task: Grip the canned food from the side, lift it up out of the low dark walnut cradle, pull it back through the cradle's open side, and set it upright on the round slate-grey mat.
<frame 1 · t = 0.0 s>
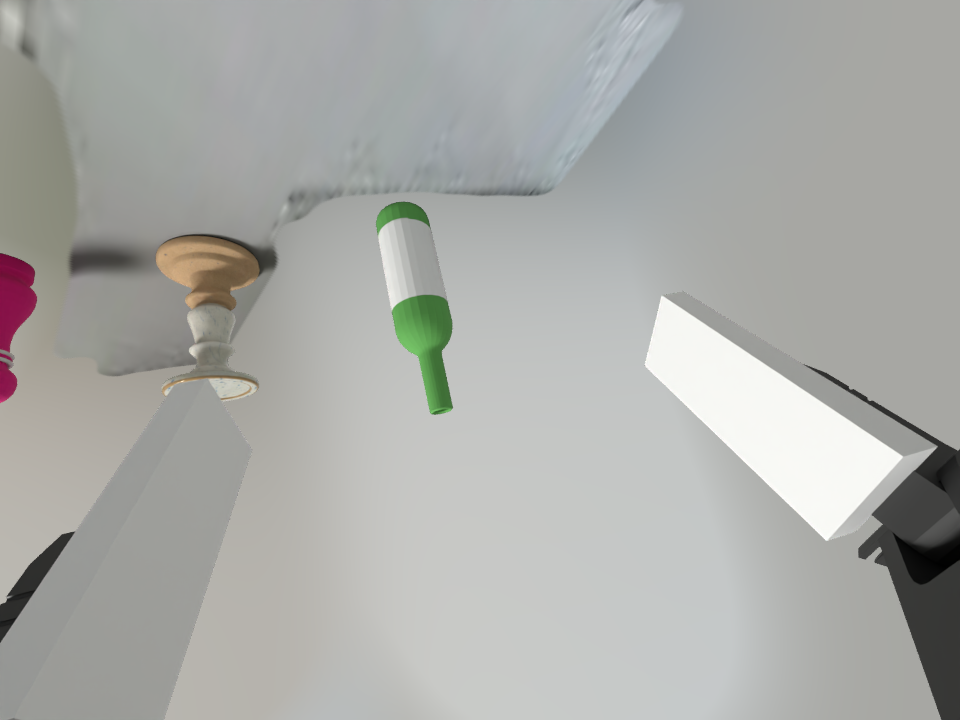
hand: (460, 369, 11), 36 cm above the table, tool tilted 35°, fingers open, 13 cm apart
wine bottle: (401, 216, 56), on the table
candle holder: (210, 260, 55), on the table
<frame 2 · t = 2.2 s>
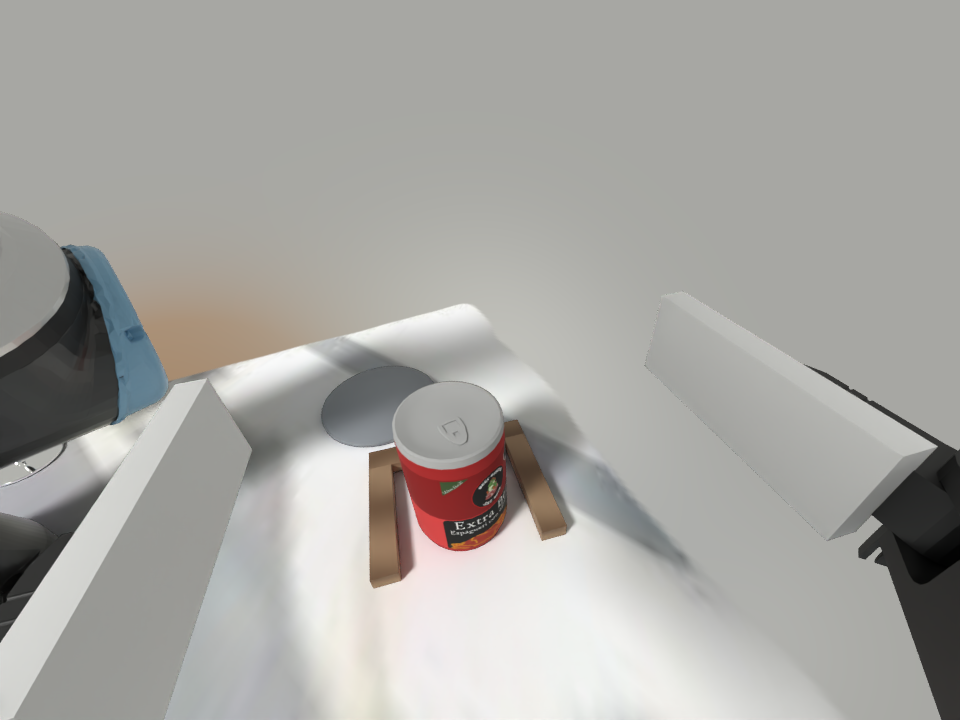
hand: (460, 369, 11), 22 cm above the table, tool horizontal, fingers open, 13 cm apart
canned food: (462, 510, 32), on the table
wineglass: (26, 463, 40), on the table
walnut cradle: (461, 508, 32), on the table
slate mat: (381, 403, 43), on the table
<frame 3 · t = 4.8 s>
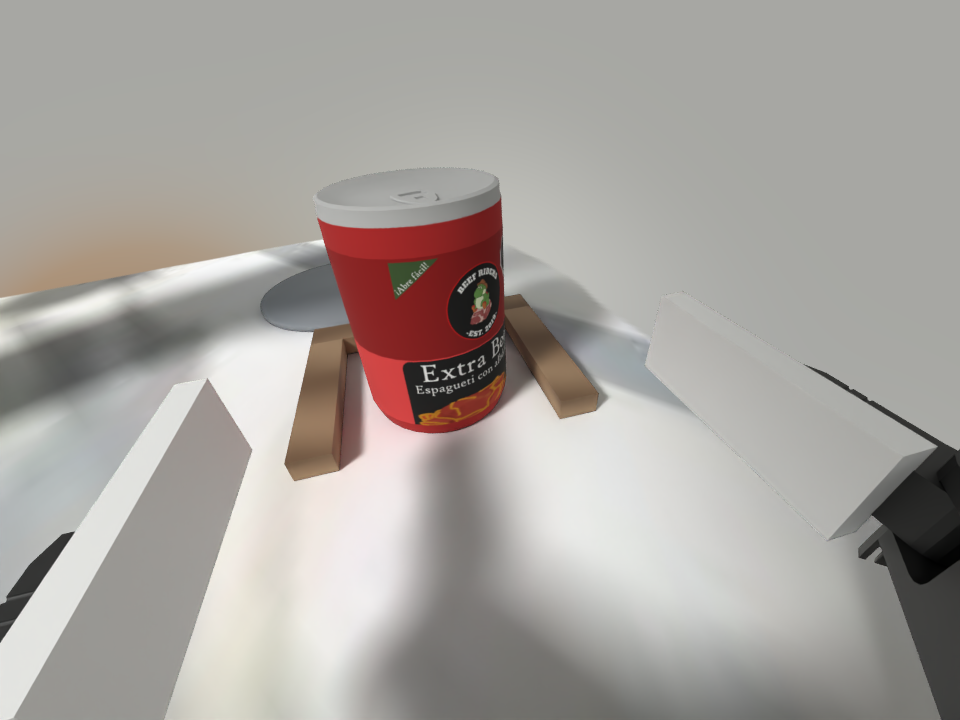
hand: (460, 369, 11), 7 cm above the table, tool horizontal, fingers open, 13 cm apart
canned food: (440, 390, 22), on the table
walnut cradle: (440, 387, 22), on the table
slate mat: (342, 293, 33), on the table
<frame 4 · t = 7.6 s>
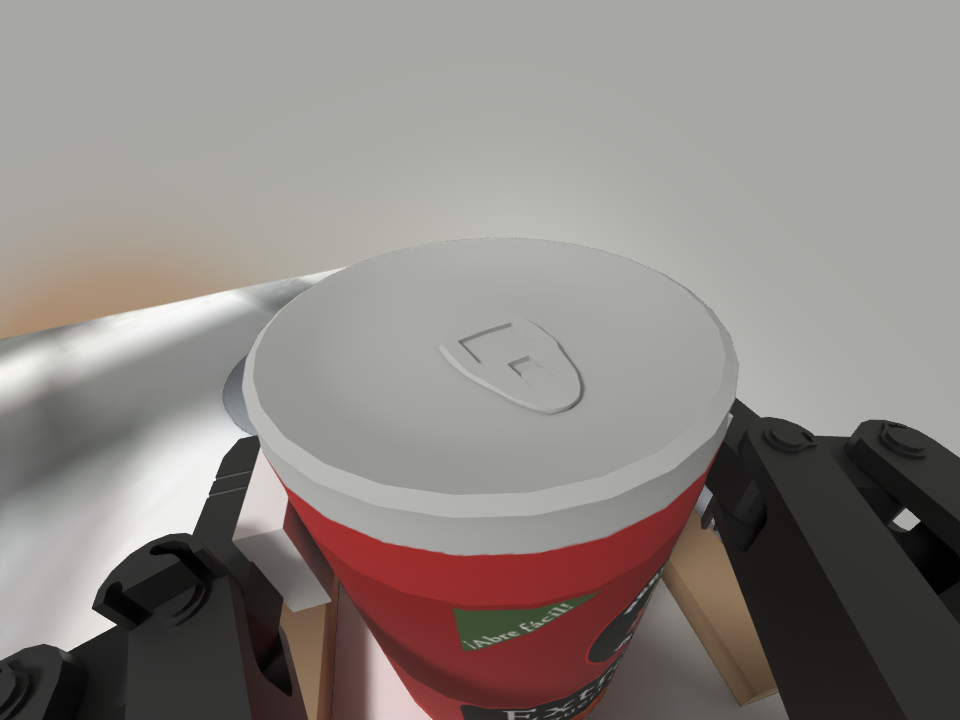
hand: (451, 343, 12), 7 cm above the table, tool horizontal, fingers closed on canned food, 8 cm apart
canned food: (499, 594, 13), on the table, touching gripper
walnut cradle: (500, 591, 13), on the table
slate mat: (338, 366, 24), on the table
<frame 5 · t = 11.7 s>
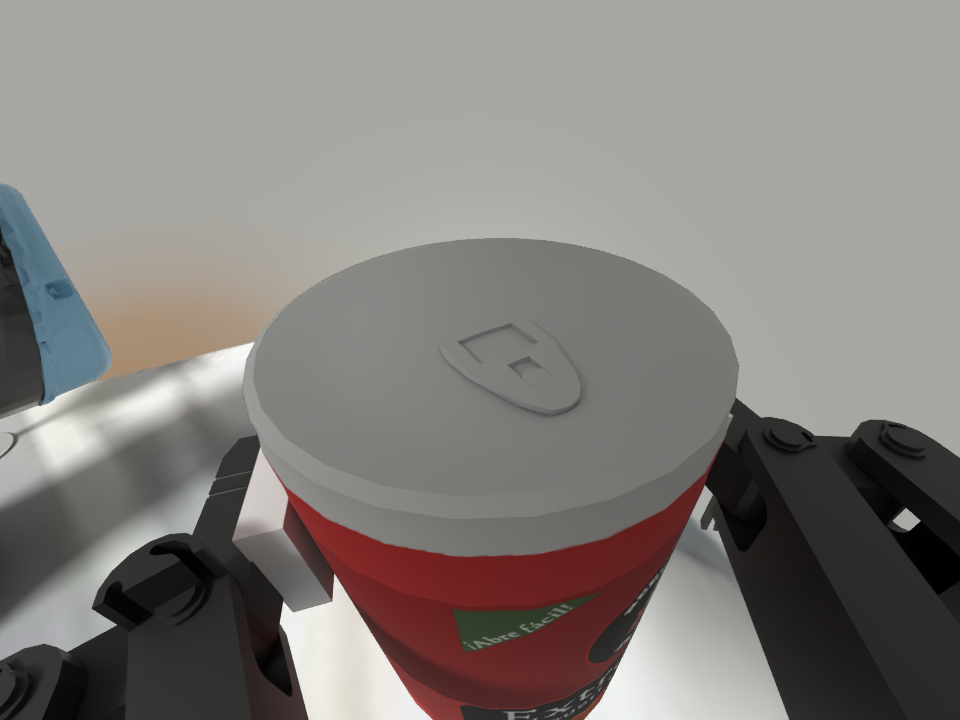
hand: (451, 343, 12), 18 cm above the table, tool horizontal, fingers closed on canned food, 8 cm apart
canned food: (499, 594, 13), point 10 cm above the table, touching gripper
when the fingers open (10 cm above the table, at t = 16.0 s): canned food drops 2 cm, resting on slate mat.
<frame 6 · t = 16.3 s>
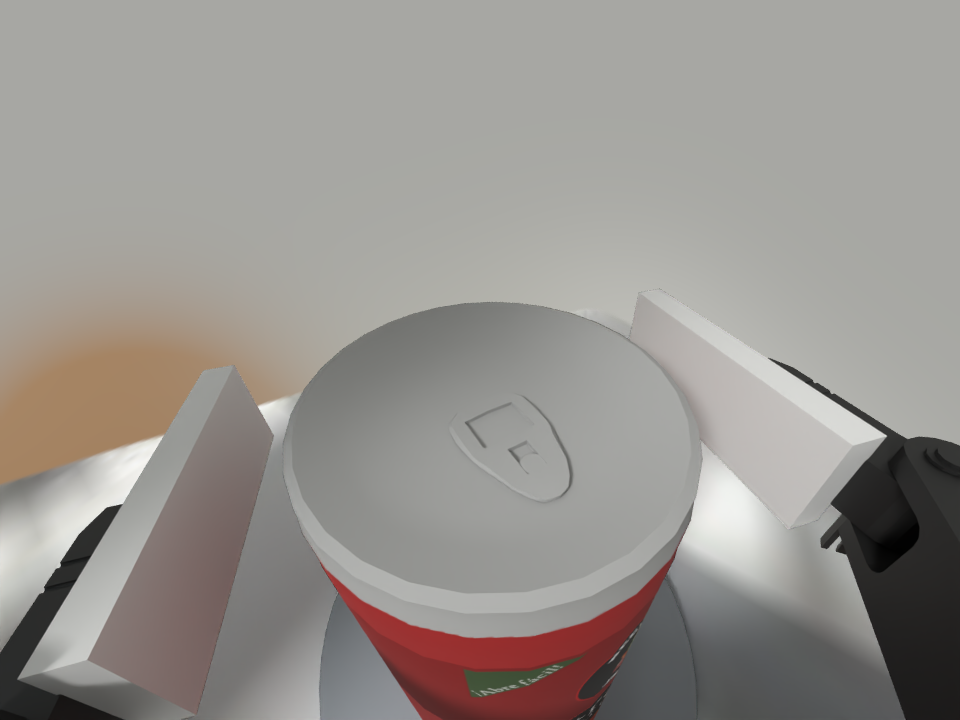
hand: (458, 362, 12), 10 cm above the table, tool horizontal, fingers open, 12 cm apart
canned food: (500, 617, 14), resting on slate mat
slate mat: (501, 619, 14), on the table
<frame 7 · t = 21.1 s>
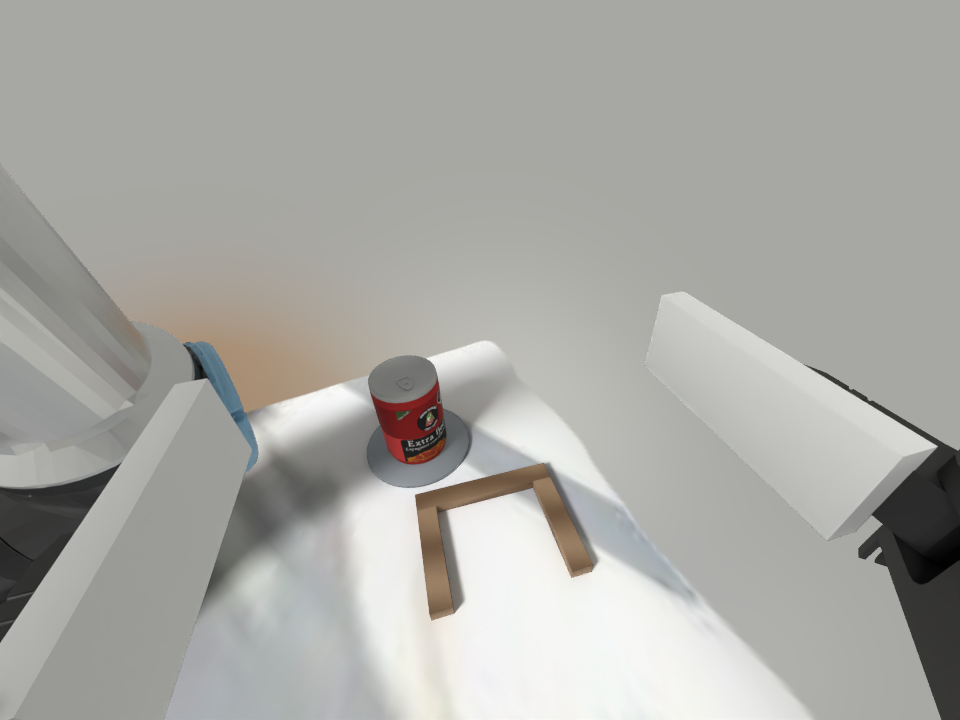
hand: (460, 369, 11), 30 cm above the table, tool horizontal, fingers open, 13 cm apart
canned food: (418, 442, 48), resting on slate mat
walnut cradle: (500, 547, 37), on the table
slate mat: (418, 444, 49), on the table
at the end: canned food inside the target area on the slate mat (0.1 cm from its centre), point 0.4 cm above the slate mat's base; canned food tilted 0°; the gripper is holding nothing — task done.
